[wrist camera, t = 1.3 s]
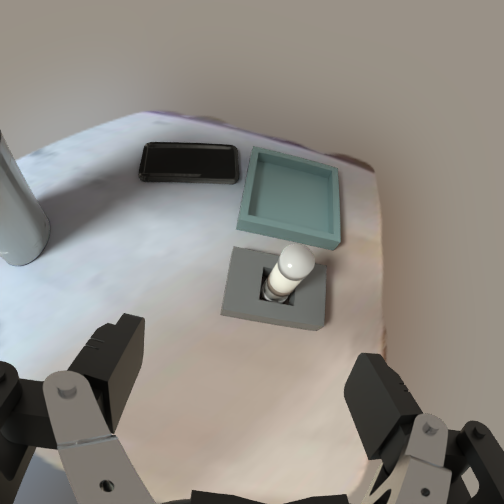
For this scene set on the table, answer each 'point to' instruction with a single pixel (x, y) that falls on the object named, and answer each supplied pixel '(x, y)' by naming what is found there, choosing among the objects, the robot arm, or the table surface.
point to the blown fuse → (287, 273)
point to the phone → (189, 163)
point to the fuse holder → (251, 308)
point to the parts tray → (291, 199)
